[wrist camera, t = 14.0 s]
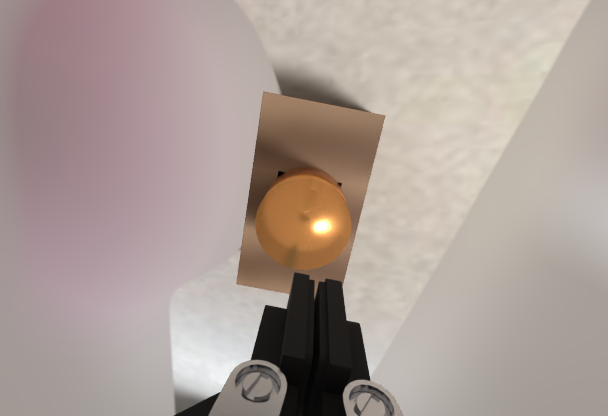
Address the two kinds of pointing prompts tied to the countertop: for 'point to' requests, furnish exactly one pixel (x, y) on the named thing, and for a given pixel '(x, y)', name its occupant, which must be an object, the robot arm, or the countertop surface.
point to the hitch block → (306, 153)
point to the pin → (303, 219)
